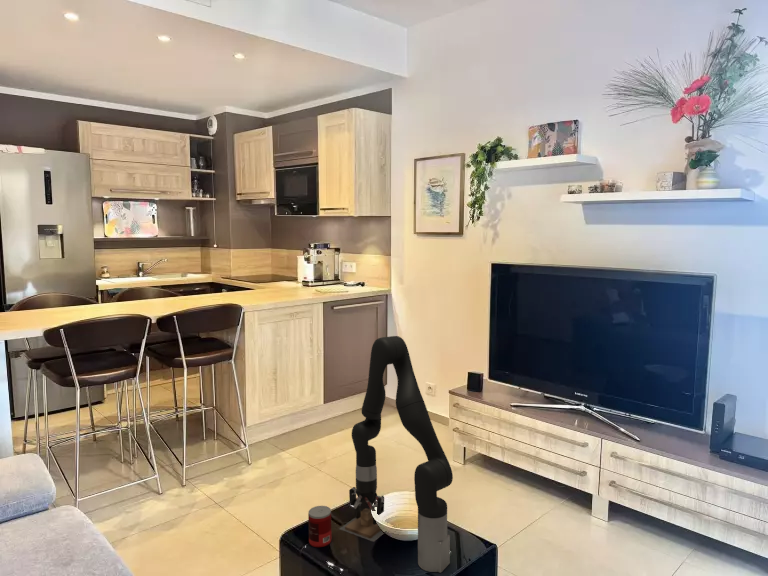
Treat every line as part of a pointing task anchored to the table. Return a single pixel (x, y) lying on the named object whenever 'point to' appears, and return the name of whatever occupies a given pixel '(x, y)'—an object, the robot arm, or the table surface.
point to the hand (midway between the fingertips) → (366, 520)
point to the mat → (361, 535)
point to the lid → (364, 525)
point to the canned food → (319, 526)
